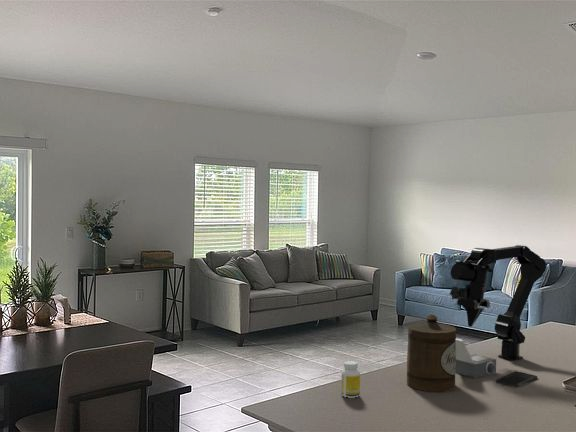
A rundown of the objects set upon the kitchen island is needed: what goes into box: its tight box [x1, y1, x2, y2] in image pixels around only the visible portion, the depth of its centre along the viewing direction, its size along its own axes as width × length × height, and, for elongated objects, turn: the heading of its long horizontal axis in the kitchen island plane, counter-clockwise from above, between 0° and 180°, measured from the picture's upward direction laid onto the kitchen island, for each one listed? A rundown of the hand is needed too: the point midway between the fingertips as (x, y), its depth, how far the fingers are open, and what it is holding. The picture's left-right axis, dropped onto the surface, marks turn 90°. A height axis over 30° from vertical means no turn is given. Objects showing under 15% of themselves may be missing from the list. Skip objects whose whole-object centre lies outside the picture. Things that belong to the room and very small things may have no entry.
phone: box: [495, 371, 538, 388], centre depth 199 cm, size 8×1×15 cm
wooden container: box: [406, 314, 457, 393], centre depth 193 cm, size 15×15×22 cm
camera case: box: [455, 353, 497, 379], centre depth 207 cm, size 11×9×5 cm
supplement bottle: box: [340, 360, 361, 399], centre depth 182 cm, size 5×5×10 cm
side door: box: [456, 337, 474, 365], centre depth 202 cm, size 10×8×1 cm
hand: (470, 326), depth 220 cm, fingers closed
